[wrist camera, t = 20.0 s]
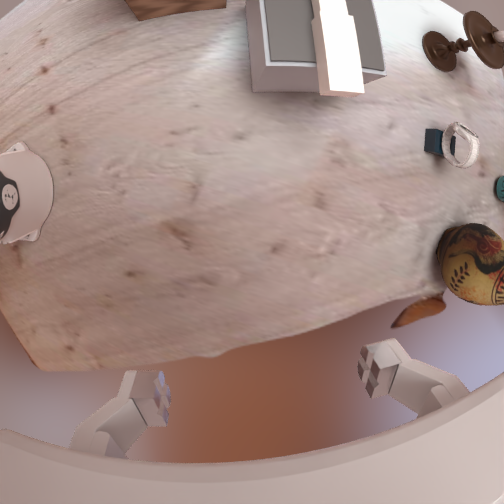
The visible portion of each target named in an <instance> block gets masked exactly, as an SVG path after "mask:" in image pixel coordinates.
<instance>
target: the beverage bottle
mask: <svg viewBox="0 0 504 504" xmlns="http://www.w3.org/2000/svg"><path fill="white" fill-rule="evenodd" d="M497 195H498V198H499V199H500V200H501V201H503V202H504V176H501V177H500V178H499V180H498V183H497Z"/></svg>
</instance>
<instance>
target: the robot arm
mask: <svg viewBox="0 0 504 504" xmlns="http://www.w3.org/2000/svg"><path fill="white" fill-rule="evenodd" d="M15 150H16V151H15ZM52 202H53V182H52V177H51V174H50V171H49V169H48V167H47V165H46V163H45V162H44V161H43V159H42V158H41V157H40V156H38V155H37V154H35V153H33V152H31V151H30V150H29V149H28V147H27V146H26V144H25V143H24V142H23V141H20V142H17V143H16V144H14V145H13V146H12V147H10V148H9V149H8V150H7V151H5V152H4V153H2V154H0V244H1V243H2V242H3V244H8V243H13V242H15V241H17V240H25V241H35V240H37V239H38V238H39V235H40V230H41V226H42V224H43V223H44V221H45V220H46V218H47V217H48V215H49V213H50V210H51V207H52ZM29 234H30V235H29ZM360 354H361V356H362V357H361V358H360V360H359V361H358V366H357V367H358V374H359V377H360V379H361V381H362V382H364V383H366V390H367V392H368V394H369V396H370V398H371V399H373V398H377V397H380V396H384V395H387V394H389V396H391V397H392V398H394V399H395V400H397V401H399V402H400V403H402V404H404V405H405V406H406V407H408V408H410V409H411V410H413V411H414V412H416V413H418V416H417V418H416V419H415V420H413V421H410V422H408V423H405V424H403V425H400V426H398V427H395V428H392V429H389V430H386V431H383V432H380V433H378V434H374V435H371V436H368V437H365V438H362V439H359V440H355V441H352V442H348V443H344V444H341V445H337V446H333V447H329V448H324V449H320V450H315V451H311V452H306V453H301V454H295V455H289V456H283V457H276V458H269V459H260V460H252V461H241V462H225V463H165V462H150V461H139V460H130V459H129V458H128V457H127V456H126V455H125V453H126V452H127V451H128V450H129V448H130V447H131V446H132V445H133V444H134V443H135V441H136V440H137V439H138V438H139V436H141V434H142V433H143V432H144V431H145V430H146V428H147V426H167V423H168V416H169V413H168V411H167V408H168V407H169V406H170V402H171V399H170V398H171V396H170V390H169V387H168V384H166V383H165V382H164V379H165V376H164V374H163V372H162V371H149V370H146V371H145V370H144V371H143V370H138V371H137V370H136V371H135V370H128V371H126V372H125V375H124V377H123V380H122V383H121V386H120V389H119V392H118V395H117V398H112V399H111V400H110V401H109V402H107V403H106V404H105V405H104V406H102V407H101V408H100V409H98V411H96V412H95V413H93V414H92V415H91V416H90V417H88V418H87V419H86V420H85V421H83V422H82V423H81V424H79V425H78V426H77V427H76V430H75V432H74V435H73V438H72V440H71V443H70V446H69V448H65V447H61V446H57V445H54V444H50V443H47V442H43V441H40V440H37V439H34V438H31V437H28V436H25V435H22V434H20V433H17V432H14V431H12V430H8V429H1V430H0V504H504V372H503V373H502V374H500V375H498V376H497V377H495V378H494V379H492V380H490V381H489V382H488V383H486V384H484V385H482V386H481V387H479V388H477V389H476V390H474V391H472V392H469V391H468V389H467V388H466V387H465V385H464V384H463V383H462V382H461V381H460V379H459V378H458V377H457V376H456V375H453V374H450V373H448V372H445V371H443V370H440V369H438V368H436V367H433V366H431V365H428V364H426V363H423V362H421V361H418V360H416V359H413V360H412V359H411V358H410V356H409V355H408V354H407V353H406V351H405V350H404V349H403V348H402V346H401V345H400V344H399V343H398V341H397V340H396V339H395V338H391V339H387V340H383V341H380V342H376V343H372V344H368V345H364V346H362V348H361V351H360Z"/></svg>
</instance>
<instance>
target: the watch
mask: <svg viewBox="0 0 504 504" xmlns="http://www.w3.org/2000/svg"><path fill="white" fill-rule="evenodd" d="M455 132H456V133H457V134H459V135H460V136H461V137H462V138H464V139H465V140H467V141H468V142H470V151H469V154H468V156H467V158H466V160H465V161H464V162H463V163H460V162H458V161H457V160H456V158H455V157H454V153H455V140H456V137H455V136H453V134H454V133H455ZM479 145H480V144H479V141H478V136H477V135H476V134H475V133H474V132H473V131H472V130H470V129H469V128H467V127H466V126H464V125H463V124H461V123H459V122H455V123H451V124H450V125H448V126H447V128H446V129H445V131H444V132H443V131H440V130H438V129H426V133H425V146H424V151H426V152H430V153H433V154H436V155H439V156H442V157H445V158H446V159H447V160H448V161H449V162H450V163H451V164H452V165H454V166H456V167H459V168H469V167H471V166H472V165H473V164H474V163H475V161H476V159H477V157H478V154H479Z"/></svg>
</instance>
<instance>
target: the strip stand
mask: <svg viewBox="0 0 504 504" xmlns="http://www.w3.org/2000/svg"><path fill="white" fill-rule="evenodd" d="M125 1H126V3H127V4H128V6H129V7H130V8H131V10H132V11H133V13H134V14H135V15H136V17H137V18H138V20H139V21H142V20H147V19H151V18H156V17H161V16H166V15H171V14H177V13H184V12H191V11H199V10H208V9H219V8H226V0H125Z"/></svg>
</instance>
